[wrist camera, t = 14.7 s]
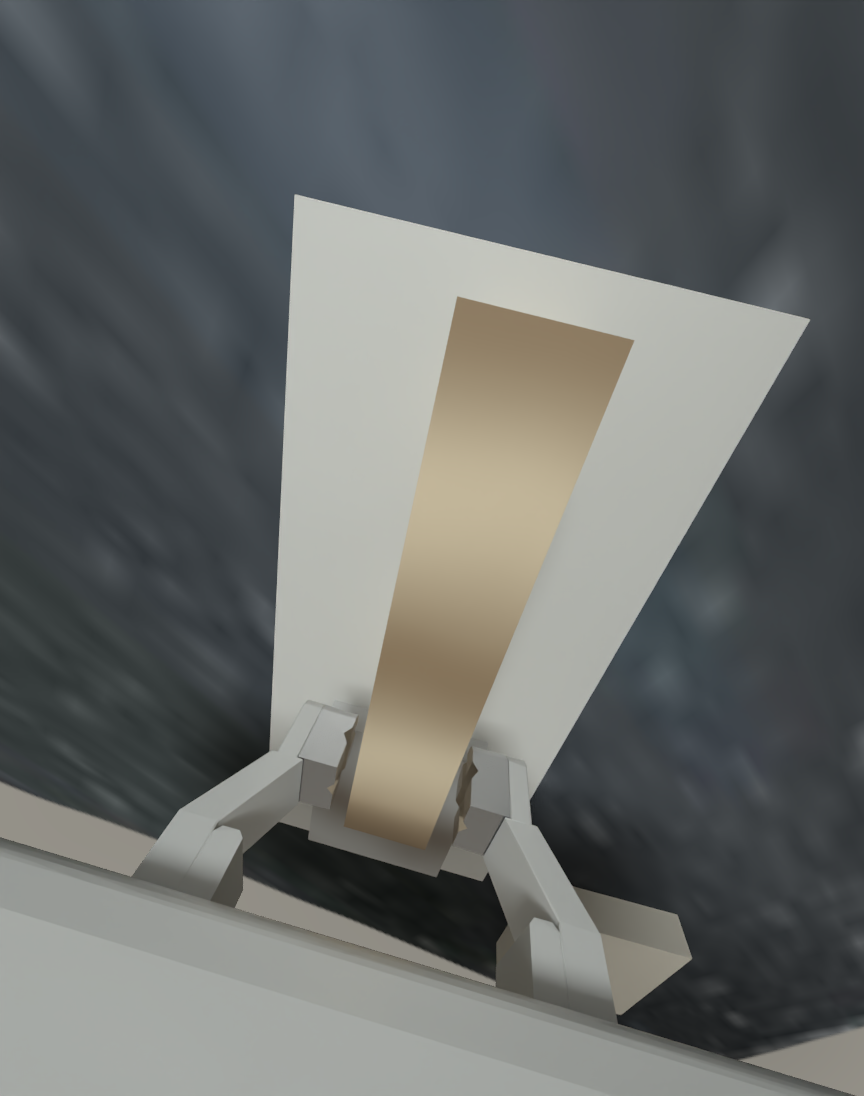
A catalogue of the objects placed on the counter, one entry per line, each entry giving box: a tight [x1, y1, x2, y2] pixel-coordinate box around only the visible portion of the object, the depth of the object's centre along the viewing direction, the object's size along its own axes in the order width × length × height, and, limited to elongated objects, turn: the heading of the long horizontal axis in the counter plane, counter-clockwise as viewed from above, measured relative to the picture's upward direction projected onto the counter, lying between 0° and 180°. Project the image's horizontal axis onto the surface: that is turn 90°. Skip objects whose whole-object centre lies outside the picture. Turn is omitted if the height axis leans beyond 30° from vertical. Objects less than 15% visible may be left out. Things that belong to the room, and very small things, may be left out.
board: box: [269, 195, 810, 881], centre depth 14 cm, size 24×11×1 cm, turn 167°
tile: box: [496, 886, 692, 1015], centre depth 20 cm, size 2×7×8 cm
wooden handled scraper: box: [308, 296, 634, 877], centre depth 11 cm, size 21×6×4 cm, turn 167°
